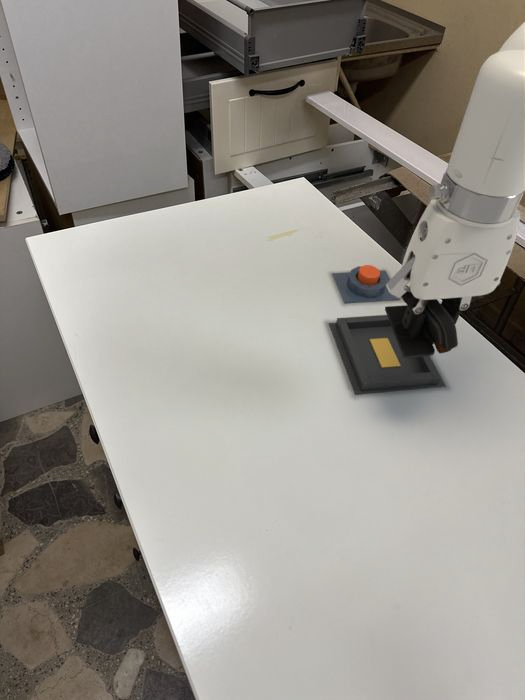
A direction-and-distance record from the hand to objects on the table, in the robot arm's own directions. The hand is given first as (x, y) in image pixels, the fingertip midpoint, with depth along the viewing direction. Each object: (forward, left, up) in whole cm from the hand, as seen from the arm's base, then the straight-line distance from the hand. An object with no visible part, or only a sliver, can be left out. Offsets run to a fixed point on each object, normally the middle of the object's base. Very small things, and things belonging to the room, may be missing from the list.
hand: (426, 327), depth 65 cm
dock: (-1, -9, -15) cm, 17 cm away
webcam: (+1, 0, -1) cm, 1 cm away
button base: (-3, -25, -15) cm, 29 cm away
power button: (-3, -25, -12) cm, 28 cm away
